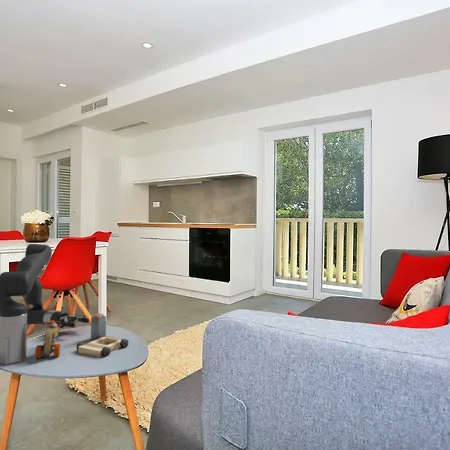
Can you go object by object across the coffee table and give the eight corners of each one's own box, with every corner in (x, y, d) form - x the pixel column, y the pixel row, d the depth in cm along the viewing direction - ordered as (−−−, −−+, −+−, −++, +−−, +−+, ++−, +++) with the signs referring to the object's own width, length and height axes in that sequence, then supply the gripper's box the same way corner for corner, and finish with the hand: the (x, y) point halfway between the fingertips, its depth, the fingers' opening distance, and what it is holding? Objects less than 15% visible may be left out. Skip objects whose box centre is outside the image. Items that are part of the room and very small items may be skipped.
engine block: (98, 341, 157) (98, 316, 157) (90, 339, 158) (91, 315, 158) (105, 338, 161) (106, 314, 161) (97, 336, 163) (98, 312, 163)
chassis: (103, 358, 137) (103, 349, 137) (74, 352, 143) (74, 344, 143) (129, 345, 151) (129, 338, 151) (102, 340, 157) (103, 333, 157)
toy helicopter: (34, 361, 132) (34, 324, 132) (45, 343, 152) (45, 311, 152) (58, 359, 135) (58, 323, 135) (65, 342, 154) (66, 310, 154)
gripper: (43, 314, 163) (69, 318, 157) (68, 307, 177) (93, 311, 170) (43, 330, 163) (69, 335, 157) (67, 323, 176) (92, 327, 170)
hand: (81, 322), depth 164 cm, fingers open, 8 cm apart
